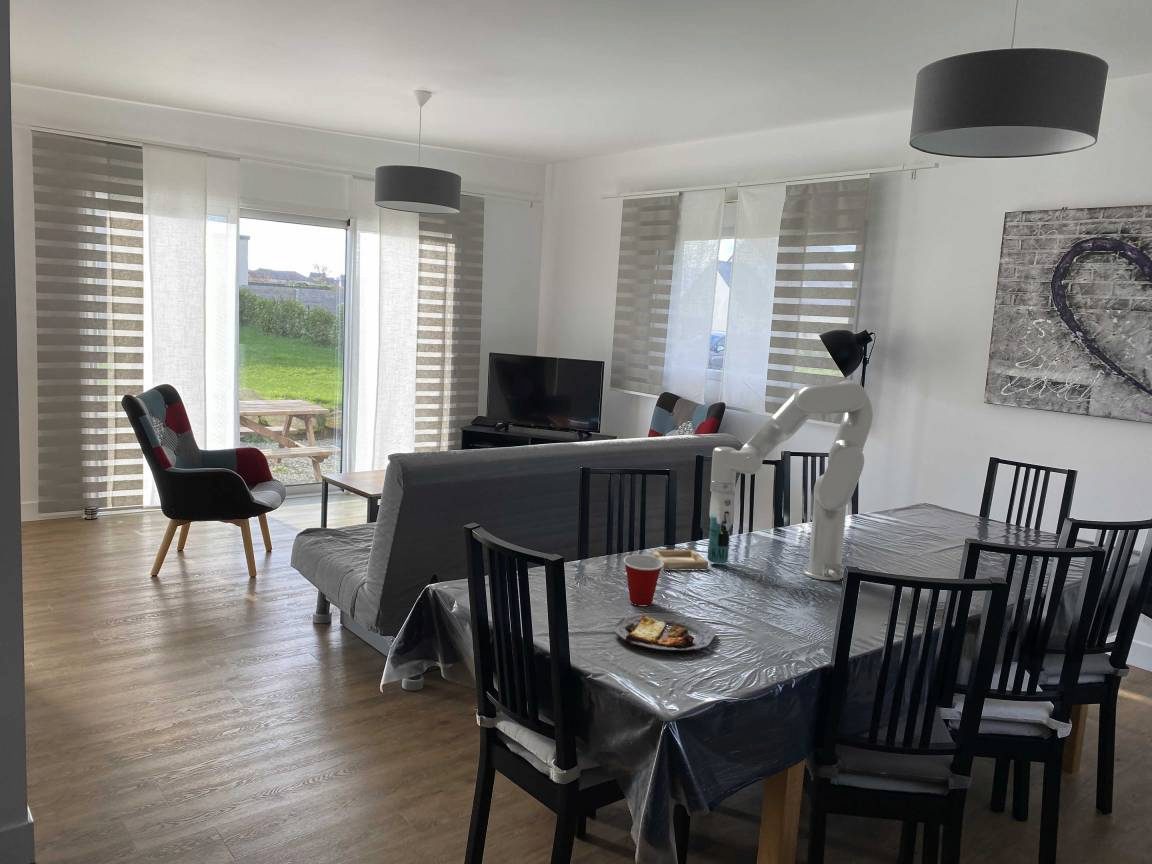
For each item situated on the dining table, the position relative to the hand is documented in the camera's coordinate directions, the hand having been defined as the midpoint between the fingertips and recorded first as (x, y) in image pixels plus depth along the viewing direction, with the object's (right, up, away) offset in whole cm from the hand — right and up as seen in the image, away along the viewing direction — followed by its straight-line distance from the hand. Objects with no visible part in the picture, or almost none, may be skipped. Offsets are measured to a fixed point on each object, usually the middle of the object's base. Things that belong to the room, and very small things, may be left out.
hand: (718, 542), depth 278 cm
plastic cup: (-27, -12, -39) cm, 49 cm away
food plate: (-23, -15, -63) cm, 69 cm away
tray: (-12, -7, +1) cm, 14 cm away
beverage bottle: (0, -7, +1) cm, 7 cm away
